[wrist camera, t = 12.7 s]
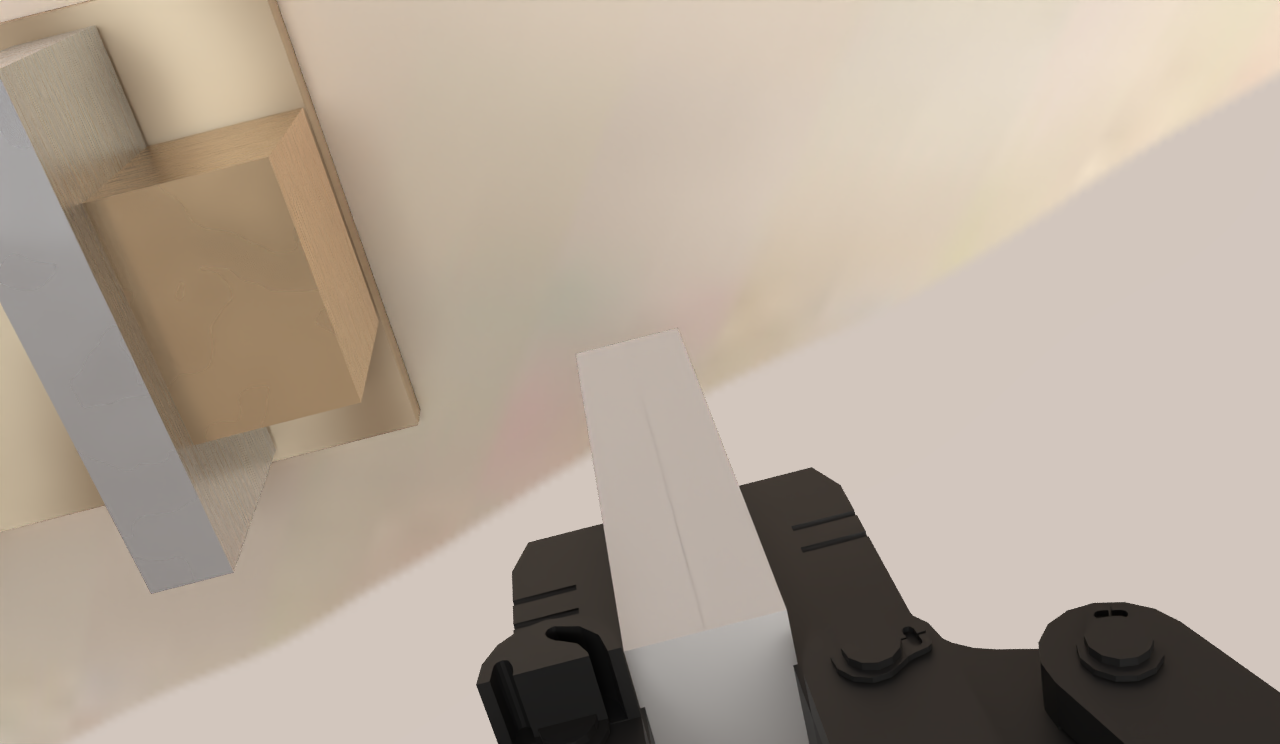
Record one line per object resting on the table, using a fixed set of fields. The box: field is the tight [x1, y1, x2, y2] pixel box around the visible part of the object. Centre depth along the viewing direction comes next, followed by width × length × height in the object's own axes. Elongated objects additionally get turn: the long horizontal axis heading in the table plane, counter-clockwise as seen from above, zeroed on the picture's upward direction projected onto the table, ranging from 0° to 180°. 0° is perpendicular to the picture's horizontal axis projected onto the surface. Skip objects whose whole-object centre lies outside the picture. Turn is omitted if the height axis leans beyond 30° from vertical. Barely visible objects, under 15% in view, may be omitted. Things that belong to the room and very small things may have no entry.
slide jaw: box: [0, 25, 379, 594], centre depth 27 cm, size 6×12×6 cm, turn 13°
